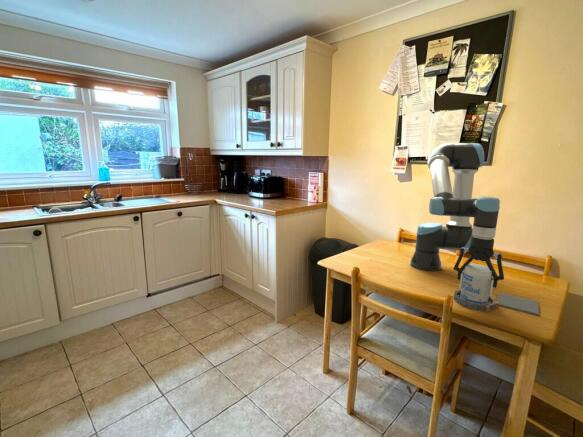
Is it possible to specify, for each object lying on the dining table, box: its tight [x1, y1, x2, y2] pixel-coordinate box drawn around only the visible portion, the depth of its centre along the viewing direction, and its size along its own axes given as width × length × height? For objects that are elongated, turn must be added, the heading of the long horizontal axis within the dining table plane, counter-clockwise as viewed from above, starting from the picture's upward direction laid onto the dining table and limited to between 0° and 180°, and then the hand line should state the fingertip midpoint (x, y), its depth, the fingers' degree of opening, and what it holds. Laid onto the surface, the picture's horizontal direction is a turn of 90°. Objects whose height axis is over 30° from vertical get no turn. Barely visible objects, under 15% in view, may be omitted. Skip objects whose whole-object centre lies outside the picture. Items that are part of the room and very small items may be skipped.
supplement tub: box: [459, 263, 493, 305], centre depth 118 cm, size 10×10×15 cm
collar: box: [453, 289, 499, 313], centre depth 119 cm, size 15×14×2 cm
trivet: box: [496, 292, 540, 317], centre depth 118 cm, size 13×13×1 cm
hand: (475, 291), depth 119 cm, fingers closed on supplement tub, 10 cm apart
